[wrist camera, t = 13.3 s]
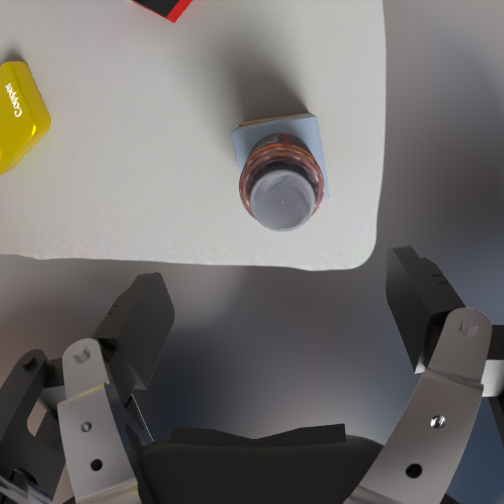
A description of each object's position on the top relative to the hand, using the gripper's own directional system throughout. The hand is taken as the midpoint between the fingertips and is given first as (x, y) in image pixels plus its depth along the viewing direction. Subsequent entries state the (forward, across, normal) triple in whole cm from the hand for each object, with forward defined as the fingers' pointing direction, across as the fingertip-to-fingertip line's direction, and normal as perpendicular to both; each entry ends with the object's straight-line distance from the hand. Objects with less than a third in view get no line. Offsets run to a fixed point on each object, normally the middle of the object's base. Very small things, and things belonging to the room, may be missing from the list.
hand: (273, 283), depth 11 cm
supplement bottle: (+20, 0, 0) cm, 20 cm away
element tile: (+31, +41, -16) cm, 53 cm away
